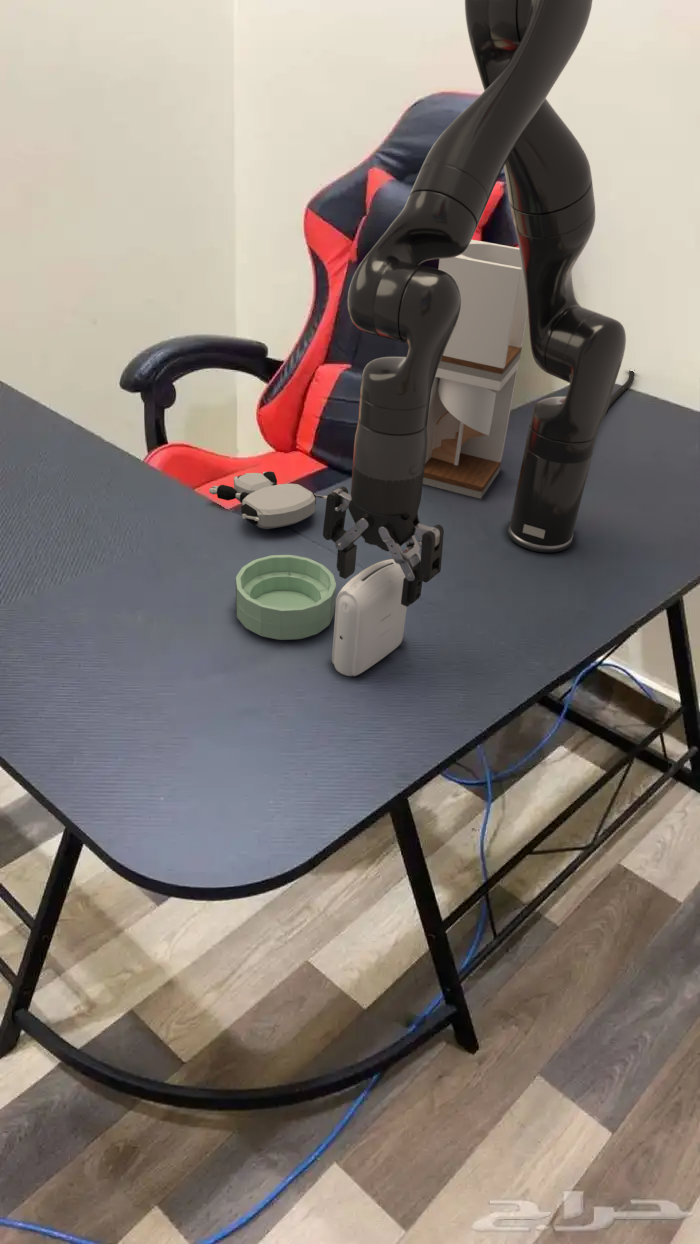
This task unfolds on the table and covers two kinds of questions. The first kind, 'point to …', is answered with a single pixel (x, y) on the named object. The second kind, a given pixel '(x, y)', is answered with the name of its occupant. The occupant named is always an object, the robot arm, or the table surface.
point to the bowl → (285, 597)
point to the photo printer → (368, 618)
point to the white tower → (477, 370)
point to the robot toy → (269, 500)
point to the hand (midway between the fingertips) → (376, 588)
